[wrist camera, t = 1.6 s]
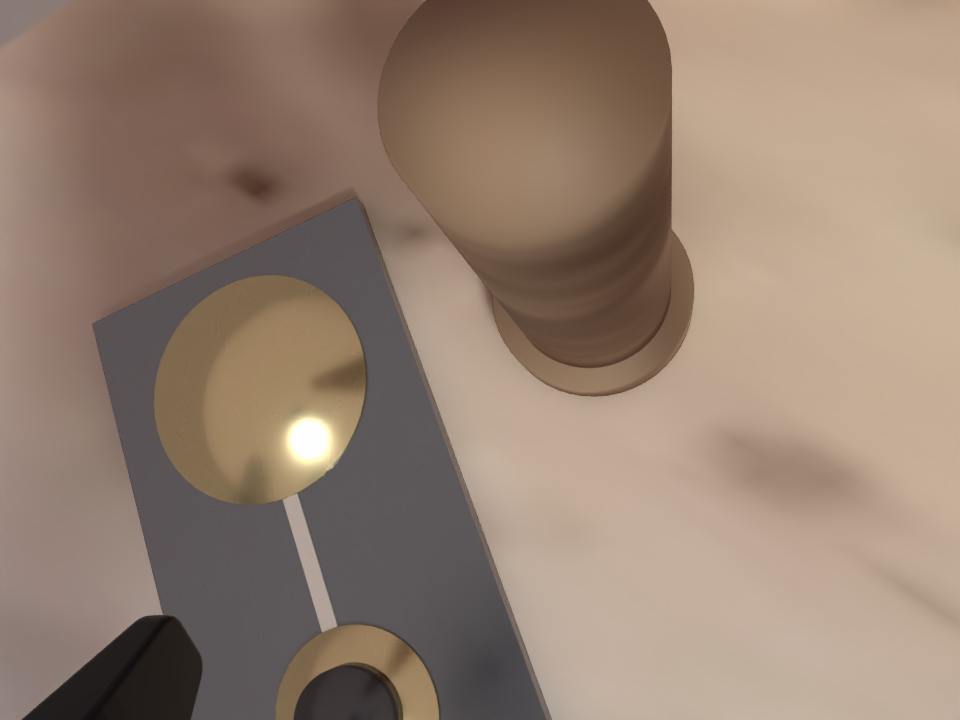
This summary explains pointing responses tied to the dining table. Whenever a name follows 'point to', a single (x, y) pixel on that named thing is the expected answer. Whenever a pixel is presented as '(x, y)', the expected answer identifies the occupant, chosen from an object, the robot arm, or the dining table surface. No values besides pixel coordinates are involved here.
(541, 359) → the walnut post
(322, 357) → the gauge plate
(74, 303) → the dining table surface
